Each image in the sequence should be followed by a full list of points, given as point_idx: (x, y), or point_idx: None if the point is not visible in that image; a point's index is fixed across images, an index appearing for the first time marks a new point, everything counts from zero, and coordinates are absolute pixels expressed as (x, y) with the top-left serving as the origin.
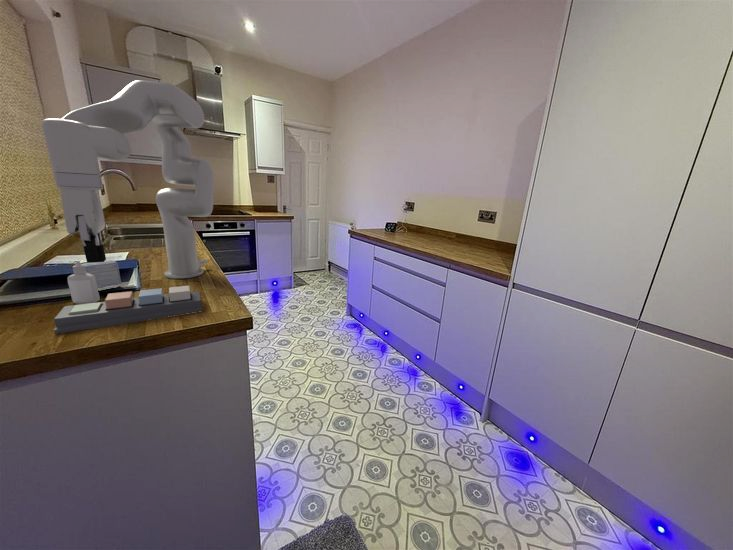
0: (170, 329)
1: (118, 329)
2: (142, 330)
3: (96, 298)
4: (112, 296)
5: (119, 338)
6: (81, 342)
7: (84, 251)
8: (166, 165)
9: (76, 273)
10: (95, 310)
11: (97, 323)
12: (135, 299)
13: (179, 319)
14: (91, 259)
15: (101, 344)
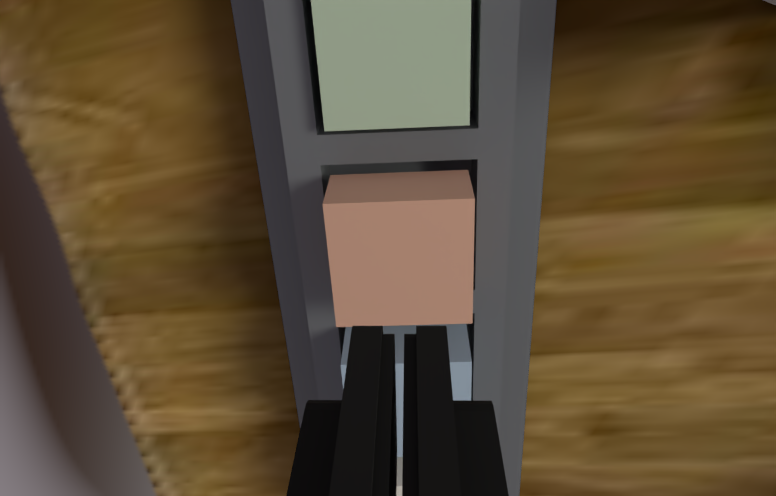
0: (147, 395)
1: (201, 206)
2: (162, 302)
3: (773, 4)
4: (395, 232)
5: (88, 226)
6: (70, 72)
7: (341, 437)
8: None
9: None
10: (324, 117)
11: (251, 116)
12: (479, 290)
13: (255, 421)
14: (312, 402)
15: (33, 166)
